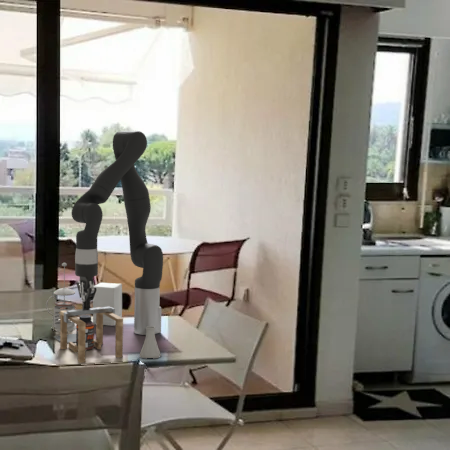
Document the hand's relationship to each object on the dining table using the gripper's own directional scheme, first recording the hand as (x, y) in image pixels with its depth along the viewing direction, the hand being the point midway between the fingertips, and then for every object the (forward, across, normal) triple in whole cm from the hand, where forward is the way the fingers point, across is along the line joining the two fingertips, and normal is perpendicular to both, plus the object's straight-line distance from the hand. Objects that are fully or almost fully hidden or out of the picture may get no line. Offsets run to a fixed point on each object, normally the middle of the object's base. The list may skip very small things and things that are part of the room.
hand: (86, 311), depth 261 cm
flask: (+13, -17, -16) cm, 27 cm away
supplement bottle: (+13, +1, 0) cm, 13 cm away
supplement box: (+13, +31, -20) cm, 39 cm away
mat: (+13, +14, 0) cm, 19 cm away
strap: (+2, -3, 0) cm, 4 cm away
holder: (+13, -4, 0) cm, 14 cm away
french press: (+13, +30, -2) cm, 33 cm away
